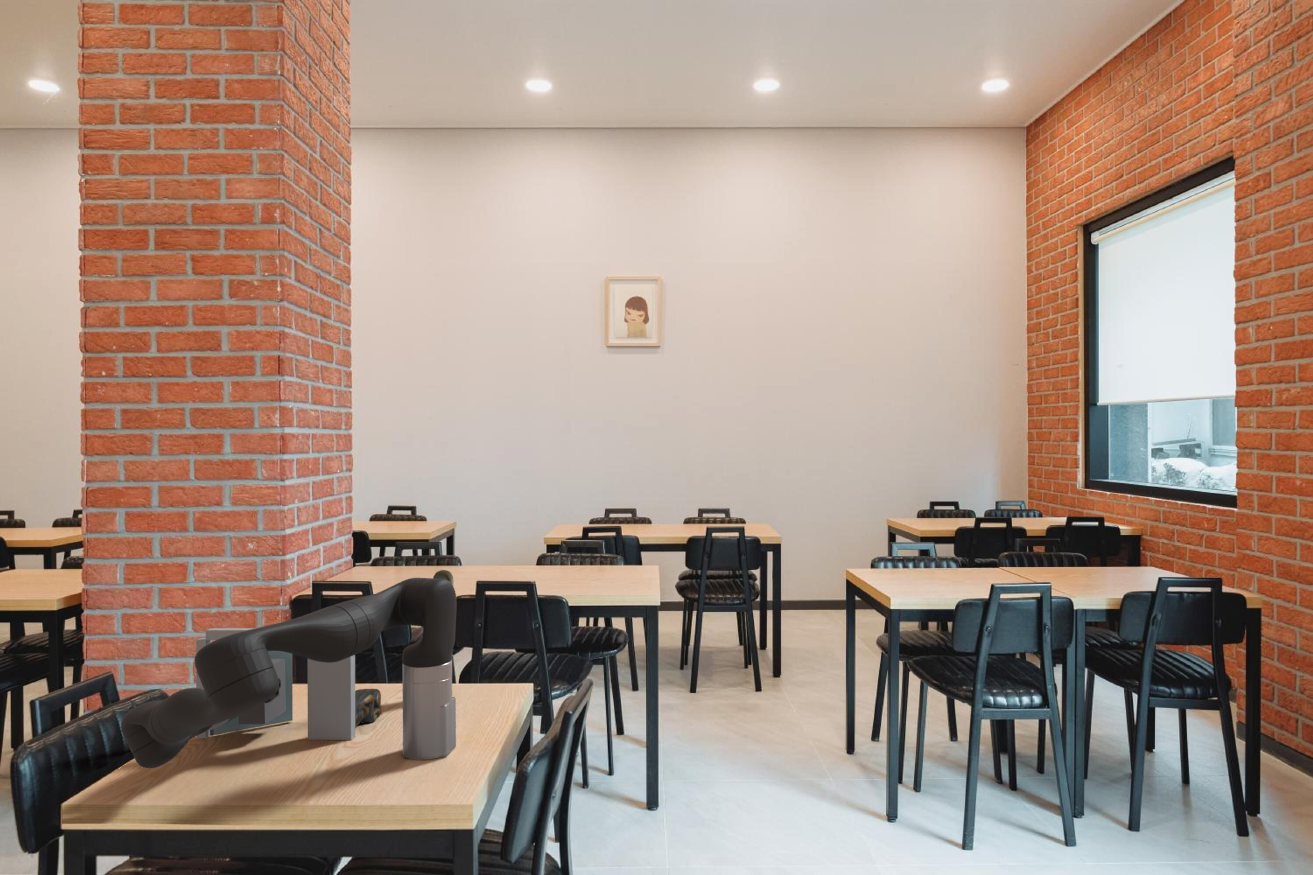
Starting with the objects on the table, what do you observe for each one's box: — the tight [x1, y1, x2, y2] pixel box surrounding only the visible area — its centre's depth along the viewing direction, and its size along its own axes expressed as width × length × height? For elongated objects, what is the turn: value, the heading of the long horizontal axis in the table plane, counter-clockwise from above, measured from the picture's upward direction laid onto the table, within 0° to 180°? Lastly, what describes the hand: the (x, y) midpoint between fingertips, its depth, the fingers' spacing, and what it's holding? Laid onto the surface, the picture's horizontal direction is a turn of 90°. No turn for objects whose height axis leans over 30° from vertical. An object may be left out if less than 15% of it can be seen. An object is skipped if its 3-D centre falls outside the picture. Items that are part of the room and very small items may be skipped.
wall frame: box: [195, 627, 356, 741], centre depth 165 cm, size 32×2×22 cm, turn 86°
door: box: [210, 651, 294, 736], centre depth 170 cm, size 16×2×18 cm, turn 126°
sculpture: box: [355, 688, 383, 729], centre depth 172 cm, size 13×6×7 cm, turn 0°
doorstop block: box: [239, 659, 286, 724], centre depth 166 cm, size 6×8×11 cm
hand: (264, 683), depth 167 cm, fingers closed on doorstop block, 5 cm apart
